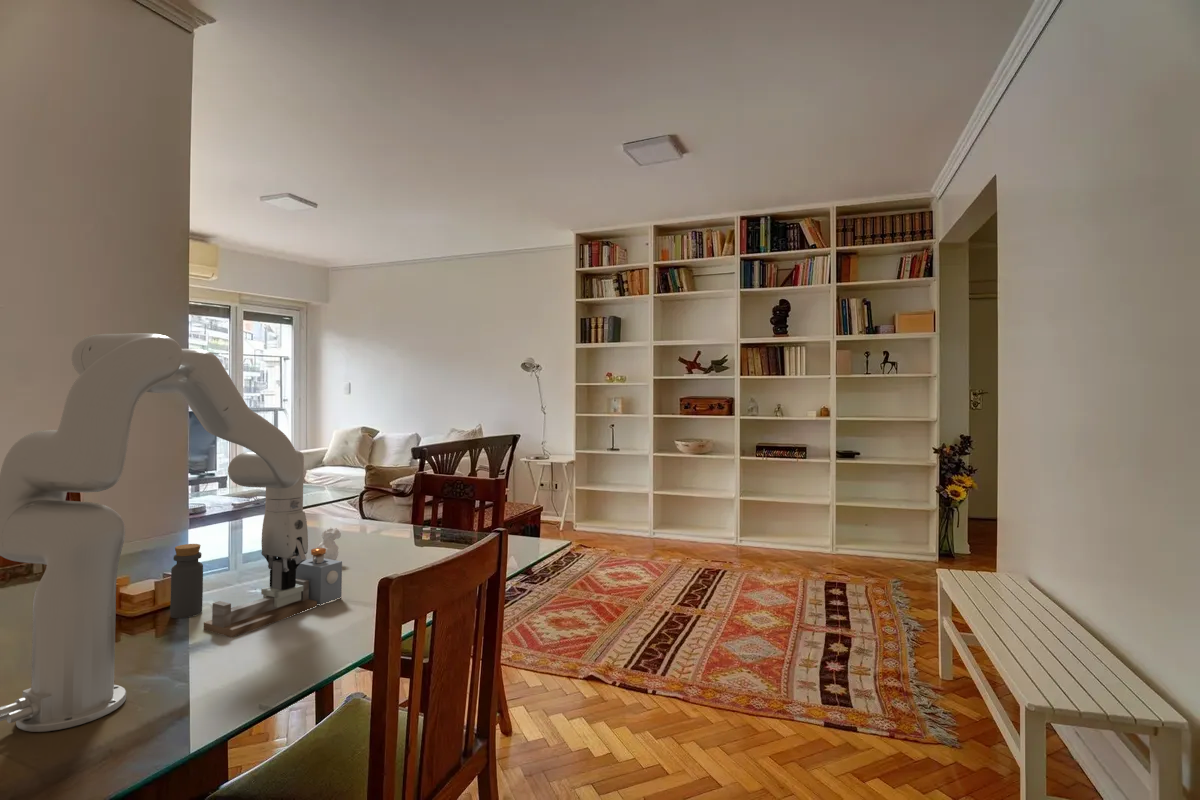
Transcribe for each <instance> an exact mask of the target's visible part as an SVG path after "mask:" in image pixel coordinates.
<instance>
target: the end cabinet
mask: <svg viewBox="0 0 1200 800" xmlns="http://www.w3.org/2000/svg"><path fill="white" fill-rule="evenodd" d="M297 578H300V579H305V580H309V599H310V600H314V601H317V604H320V605H321V604H323V603H326V602H329V601H331V600H335V599H337V598H340V597H341V598H342V585H343V583H342V582H343V581H342V580H343V579H342V578H343V561H341V560H337V559H336V560H331V559H325V558H324V563H321V564H313V557H310V558H306V560H305V561H303V562H302V563H300V564H299V566H298V569H296V579H297Z"/></svg>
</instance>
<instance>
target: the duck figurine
mask: <svg viewBox="0 0 1200 800" xmlns="http://www.w3.org/2000/svg"><path fill="white" fill-rule="evenodd" d="M341 534H342V533H341V532H340V530H339V528H337V527H335V528H333V527H331V526H330V527H329V528H327V530H324V531H323V532H322V535H321V538H322V541H321V542H320V543H319V544H318V545H317V547H316V548H326V553H325V554H324V558H325V559H331V560H337V559H338V557H339V546H338V544H336V541H335V540H337V539H338V540H339V539H340V538H341Z"/></svg>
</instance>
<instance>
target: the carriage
mask: <svg viewBox="0 0 1200 800" xmlns="http://www.w3.org/2000/svg"><path fill="white" fill-rule="evenodd" d="M291 561H292V559H290V560H289V563H290V562H291ZM282 572H284V565H283V559H279V560H275V561H273V566H272V587H270V585H269V586H267V587H263V588H261V590H260V592H261V593H260V594H261V595H263V597H262V598H265V597H269V596H271V597H274V607H280V606H283V605H286V604H289V603H292V602H295V601H298V600H301V591H303V587H304V586H303V585H299V584H296V585H295V587H293V588H289V589H286V590H282V589H281V581H282Z"/></svg>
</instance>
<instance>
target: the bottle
mask: <svg viewBox="0 0 1200 800" xmlns="http://www.w3.org/2000/svg"><path fill="white" fill-rule="evenodd" d="M200 549H201V544H199V543H187V544H180V545H177V546H175V547H174V551H175V554H174V555H173V561H175V562H176V564H174V565H173V566H172V567H171V569H170V570H171V571H170V572H171V573H170V575H171V576H170V605H169V606H170V611H169V612H170V618H172V619H186V618H192V617H195V616H198V615H200V614H201V613H202V612H203V595H204V594H203V593H204V592H203V590H204V564H203V563H202V562H200V561H199V559H201V558H202V552H201V551H200Z"/></svg>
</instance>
